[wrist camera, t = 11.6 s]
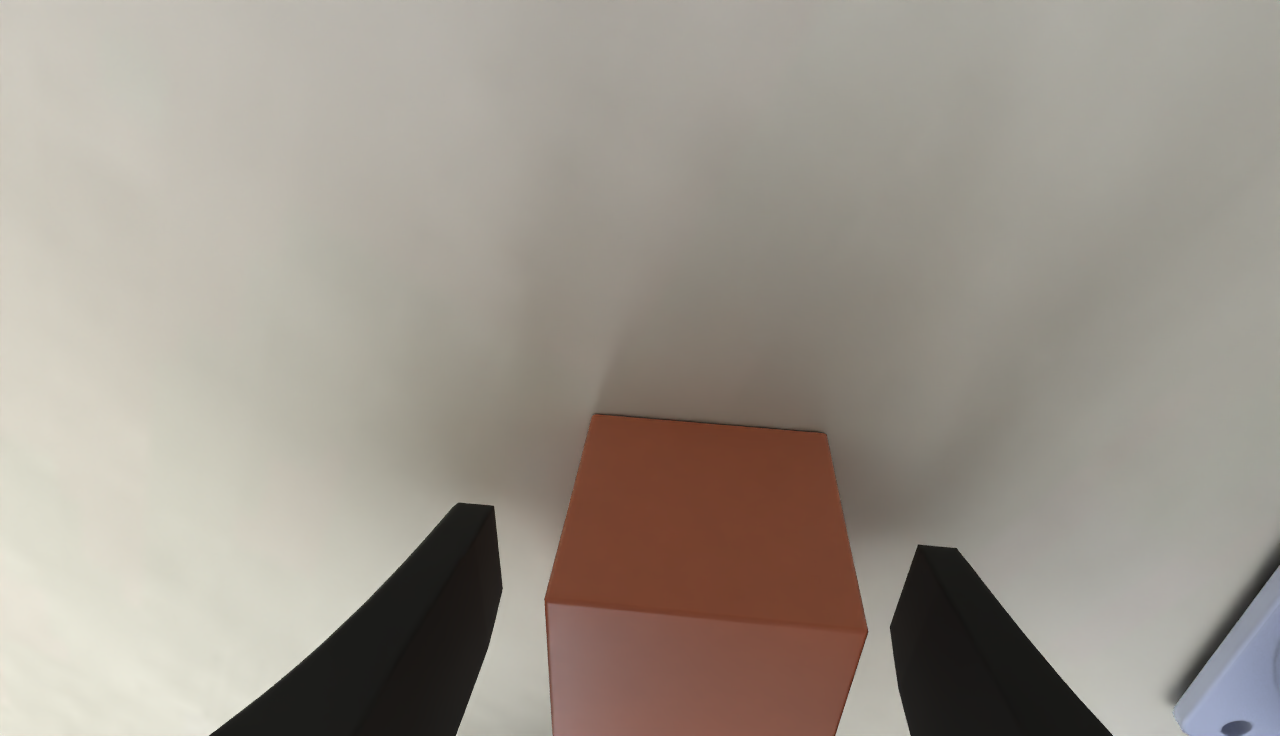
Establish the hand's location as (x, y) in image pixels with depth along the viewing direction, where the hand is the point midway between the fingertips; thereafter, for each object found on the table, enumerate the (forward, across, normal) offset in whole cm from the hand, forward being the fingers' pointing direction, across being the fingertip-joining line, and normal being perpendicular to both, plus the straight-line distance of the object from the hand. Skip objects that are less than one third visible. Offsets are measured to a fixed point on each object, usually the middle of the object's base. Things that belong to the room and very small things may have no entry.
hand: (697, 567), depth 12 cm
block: (+1, 0, 0) cm, 1 cm away
